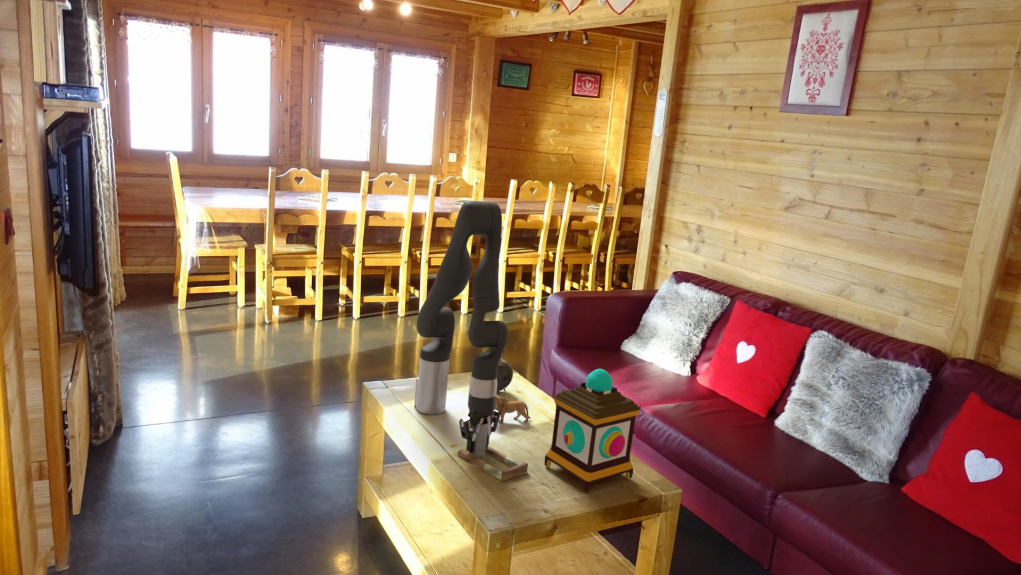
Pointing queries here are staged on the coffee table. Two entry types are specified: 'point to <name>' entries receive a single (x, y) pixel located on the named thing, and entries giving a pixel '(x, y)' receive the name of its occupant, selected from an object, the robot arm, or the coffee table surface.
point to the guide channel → (504, 475)
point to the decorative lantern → (593, 430)
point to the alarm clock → (503, 375)
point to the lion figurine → (511, 408)
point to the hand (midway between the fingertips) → (477, 449)
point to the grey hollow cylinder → (480, 441)
